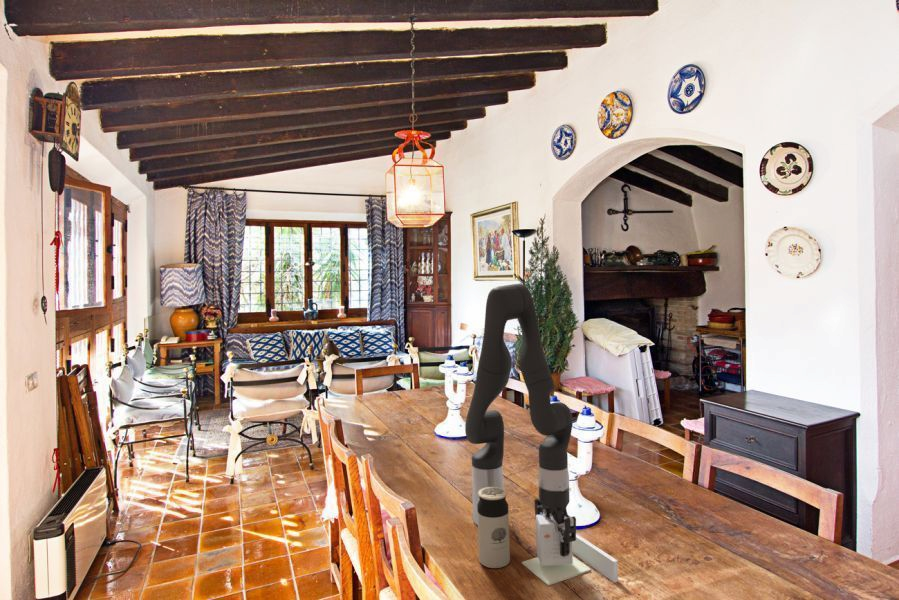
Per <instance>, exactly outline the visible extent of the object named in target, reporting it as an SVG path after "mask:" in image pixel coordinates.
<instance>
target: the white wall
mask: <svg viewBox="0 0 899 600" xmlns="http://www.w3.org/2000/svg"><path fill="white" fill-rule="evenodd" d="M572 555H574V556H576V557H577V558H578V559H580V560H582V561H583V562H584V563H586V564H587V565H588V566H590V567H591V568H593V569H595V570H596V571H597V572H599V574H602V575H603V576H604V577H605V578H607V579H609V580H610V582H613V583H617V582H619V566H618V565H619V561H618V559H617V558H614V557H613V556H611V555H610V554H608V553H607V552H605V551H603V550H602V549H600V548H599V547H598V546H596V545H594V544H593V543H591V542H590V541H588V540H587V539H586V538H583V536H581V535H579V534H578V533H576V541H572Z"/></svg>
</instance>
